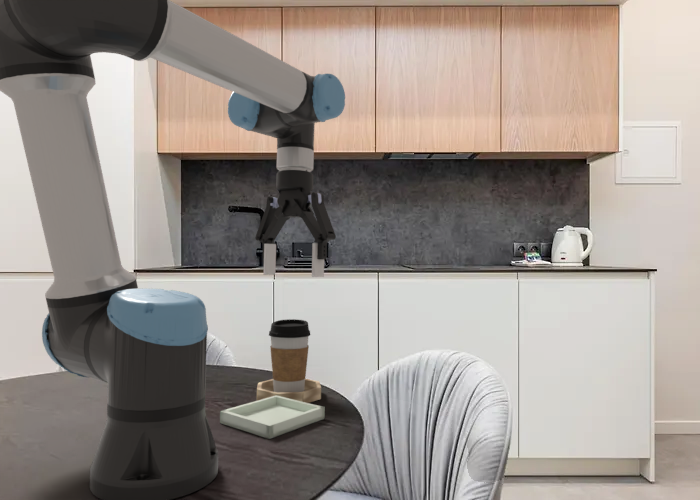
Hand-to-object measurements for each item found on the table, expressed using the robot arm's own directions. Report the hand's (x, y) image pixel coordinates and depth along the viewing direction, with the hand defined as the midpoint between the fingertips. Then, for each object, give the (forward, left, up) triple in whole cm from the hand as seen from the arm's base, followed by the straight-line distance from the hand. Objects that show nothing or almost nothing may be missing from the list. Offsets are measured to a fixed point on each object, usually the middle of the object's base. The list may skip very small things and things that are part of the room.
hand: (292, 275), depth 104 cm
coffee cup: (-1, 0, -24) cm, 24 cm away
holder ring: (-1, 0, -24) cm, 24 cm away
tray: (-14, -9, -24) cm, 29 cm away
